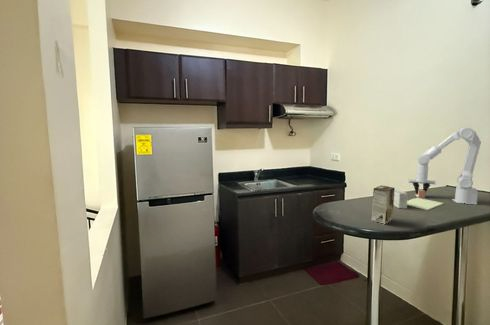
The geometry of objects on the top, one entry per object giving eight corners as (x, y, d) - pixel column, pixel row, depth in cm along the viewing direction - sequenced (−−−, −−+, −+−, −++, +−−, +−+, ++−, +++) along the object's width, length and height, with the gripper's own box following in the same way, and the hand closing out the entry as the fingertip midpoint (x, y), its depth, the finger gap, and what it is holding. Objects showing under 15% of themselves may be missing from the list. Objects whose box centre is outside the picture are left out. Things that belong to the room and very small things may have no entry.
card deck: (421, 195, 166) (421, 188, 166) (424, 198, 160) (425, 191, 160) (415, 195, 167) (416, 188, 167) (418, 197, 161) (419, 190, 161)
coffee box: (378, 216, 127) (380, 185, 125) (392, 220, 122) (395, 187, 120) (370, 221, 121) (373, 187, 119) (385, 225, 116) (387, 190, 114)
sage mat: (416, 198, 159) (416, 197, 159) (443, 204, 148) (443, 203, 148) (400, 203, 149) (400, 202, 149) (428, 210, 137) (428, 209, 137)
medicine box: (407, 208, 139) (408, 193, 138) (398, 208, 140) (400, 193, 138) (398, 204, 147) (399, 189, 146) (390, 204, 147) (392, 189, 146)
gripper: (433, 173, 163) (431, 193, 165) (407, 172, 168) (405, 192, 170) (437, 175, 157) (435, 196, 158) (410, 173, 161) (408, 194, 163)
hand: (420, 194), depth 164 cm, fingers closed on card deck, 3 cm apart
